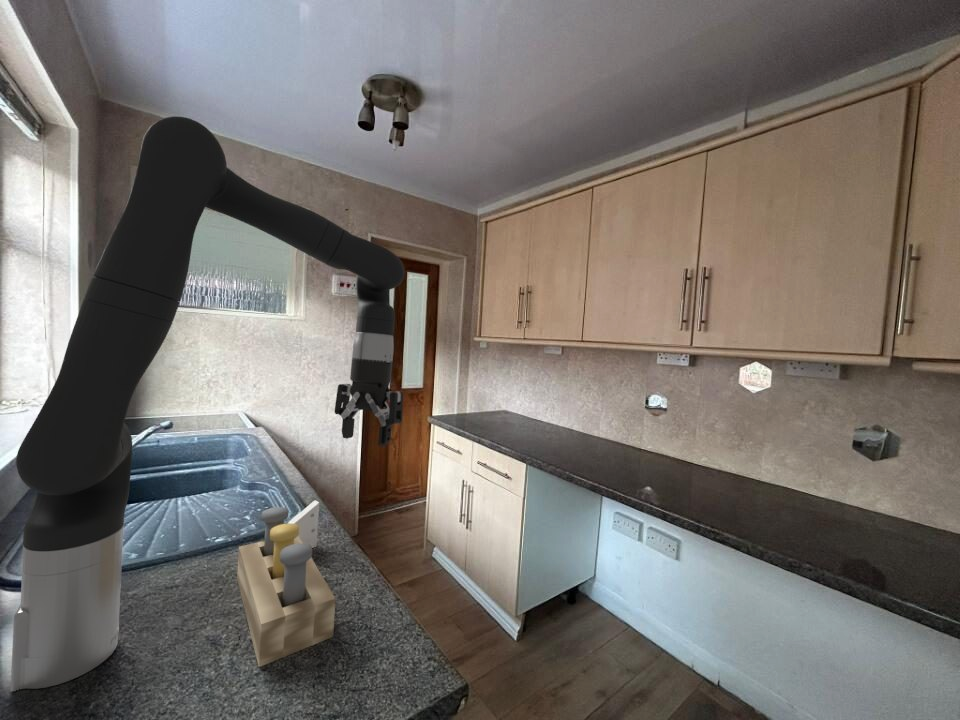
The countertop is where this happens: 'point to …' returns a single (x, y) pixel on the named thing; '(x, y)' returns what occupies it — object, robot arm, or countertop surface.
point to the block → (263, 601)
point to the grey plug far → (272, 525)
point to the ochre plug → (282, 545)
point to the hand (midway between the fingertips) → (365, 441)
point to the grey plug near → (294, 572)
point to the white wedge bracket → (308, 524)
